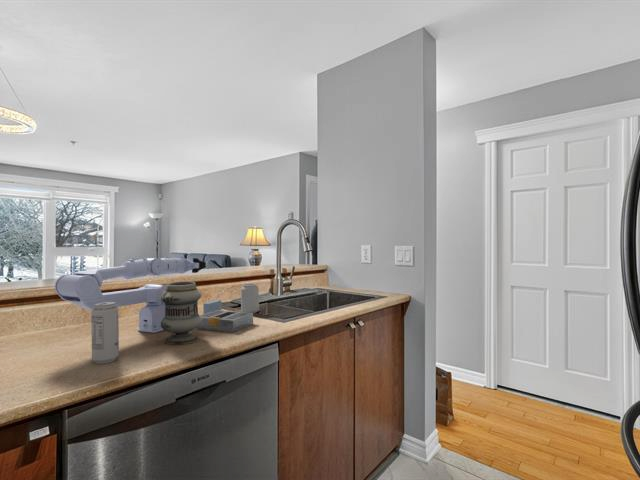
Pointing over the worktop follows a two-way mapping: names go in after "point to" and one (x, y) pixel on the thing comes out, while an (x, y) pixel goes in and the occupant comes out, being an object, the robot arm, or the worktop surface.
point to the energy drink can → (105, 332)
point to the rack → (226, 320)
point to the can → (250, 298)
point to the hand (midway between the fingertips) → (197, 265)
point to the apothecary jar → (181, 312)
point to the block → (212, 306)
